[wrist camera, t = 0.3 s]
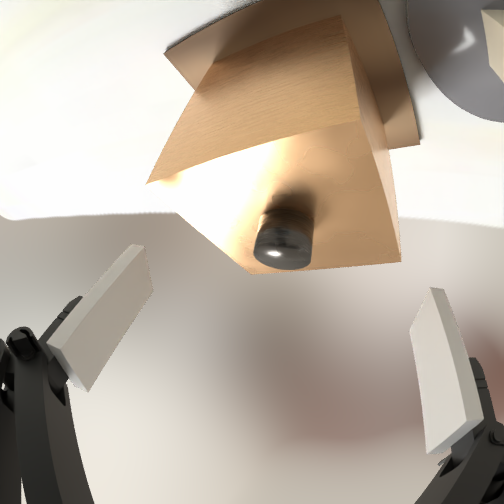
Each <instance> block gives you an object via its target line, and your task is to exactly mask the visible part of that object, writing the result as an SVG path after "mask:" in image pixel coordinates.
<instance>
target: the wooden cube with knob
mask: <svg viewBox="0 0 504 504" xmlns="http://www.w3.org/2000/svg"><path fill="white" fill-rule="evenodd" d="M146 186H147V187H148V188H149V189H151V190H152V191H153V192H154V193H155V194H156V195H158V196H159V197H160V198H161V199H162V200H163V201H165V202H166V203H167V204H168V205H169V206H170V207H172V208H173V209H174V210H175V211H176V212H177V213H179V214H180V215H181V216H182V217H183V218H184V219H186V220H187V221H188V222H189V223H190V224H192V225H193V226H194V227H195V228H196V229H197V230H199V231H200V232H201V233H202V234H203V235H204V236H206V237H207V238H208V239H209V240H210V241H212V242H213V243H214V244H215V245H216V246H218V247H219V248H220V249H221V250H222V251H224V252H225V253H226V254H227V255H228V256H230V257H231V258H232V259H233V260H234V261H235V262H237V263H238V264H239V265H240V266H241V267H243V268H244V269H245V270H246V271H247V272H249V273H250V274H264V273H277V272H278V273H279V272H291V271H304V270H317V269H327V268H340V267H352V266H362V265H373V264H384V263H395V262H401V247H400V234H399V222H398V212H397V203H396V195H395V187H394V180H393V174H392V167H391V161H390V155H389V149H388V144H387V139H386V134H385V129H384V124H383V121H382V118H381V115H380V112H379V109H378V106H377V103H376V100H375V97H374V94H373V91H372V88H371V85H370V83H369V80H368V77H367V75H366V72H365V70H364V67H363V64H362V62H361V59H360V57H359V55H358V52H357V50H356V48H355V45H354V43H353V41H352V38H351V36H350V34H349V32H348V30H347V27H346V25H345V23H344V21H343V19H342V17H341V15H337V16H334V17H330V18H327V19H323V20H320V21H317V22H314V23H310V24H307V25H304V26H301V27H298V28H295V29H292V30H290V31H287V32H284V33H281V34H279V35H276V36H273V37H271V38H268V39H266V40H263V41H261V42H258V43H256V44H254V45H251V46H249V47H247V48H244V49H242V50H240V51H238V52H235V53H233V54H231V55H229V56H227V57H225V58H223V59H220V60H218V61H216V62H214V63H212V65H211V66H210V68H209V69H208V71H207V72H206V74H205V76H204V77H203V79H202V81H201V82H200V84H199V85H198V87H197V89H196V90H195V92H194V94H193V95H192V97H191V99H190V101H189V102H188V104H187V106H186V108H185V109H184V111H183V113H182V115H181V116H180V118H179V120H178V122H177V124H176V125H175V127H174V129H173V131H172V133H171V135H170V137H169V139H168V141H167V142H166V144H165V146H164V148H163V150H162V152H161V154H160V156H159V158H158V160H157V162H156V164H155V166H154V168H153V170H152V173H151V175H150V177H149V179H148V181H147V183H146Z"/></svg>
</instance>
